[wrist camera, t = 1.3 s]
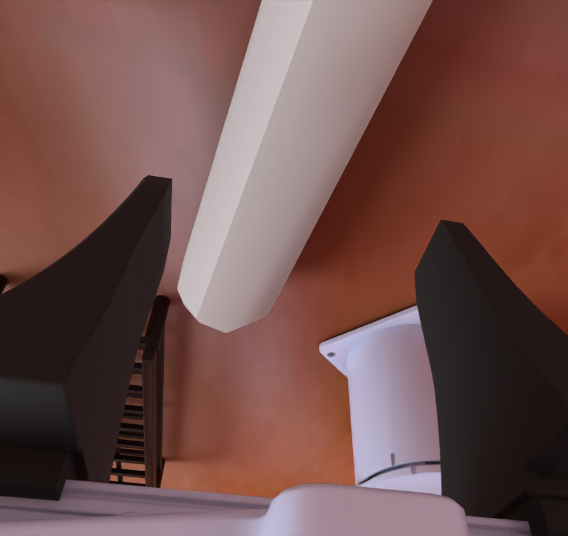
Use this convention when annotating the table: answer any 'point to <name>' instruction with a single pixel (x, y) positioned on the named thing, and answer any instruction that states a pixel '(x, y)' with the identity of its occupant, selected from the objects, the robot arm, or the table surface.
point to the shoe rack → (151, 404)
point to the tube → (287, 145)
